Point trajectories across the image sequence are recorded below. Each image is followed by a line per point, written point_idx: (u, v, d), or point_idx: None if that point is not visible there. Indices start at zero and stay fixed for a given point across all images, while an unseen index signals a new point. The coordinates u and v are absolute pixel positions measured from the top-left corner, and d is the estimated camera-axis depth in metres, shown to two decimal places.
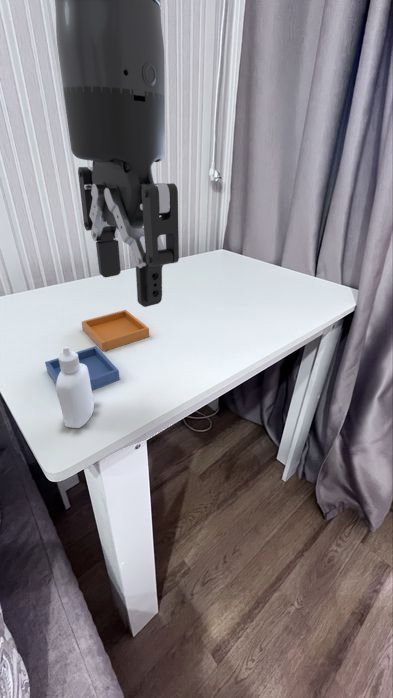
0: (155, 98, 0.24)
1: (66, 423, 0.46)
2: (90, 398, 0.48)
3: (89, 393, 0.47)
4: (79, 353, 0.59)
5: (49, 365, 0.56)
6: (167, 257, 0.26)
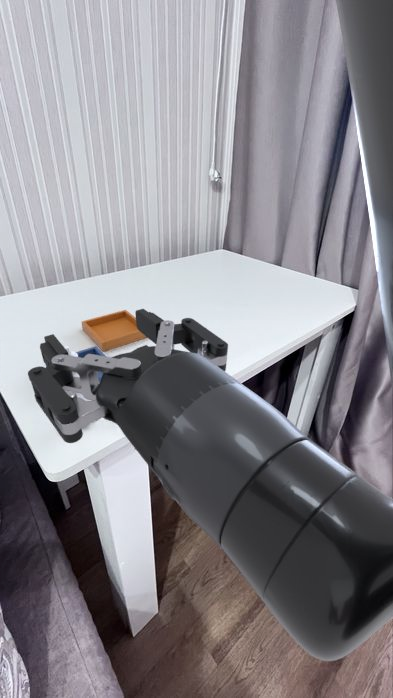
0: None
1: None
2: None
3: None
4: (79, 353, 0.59)
5: None
6: (34, 389, 0.23)
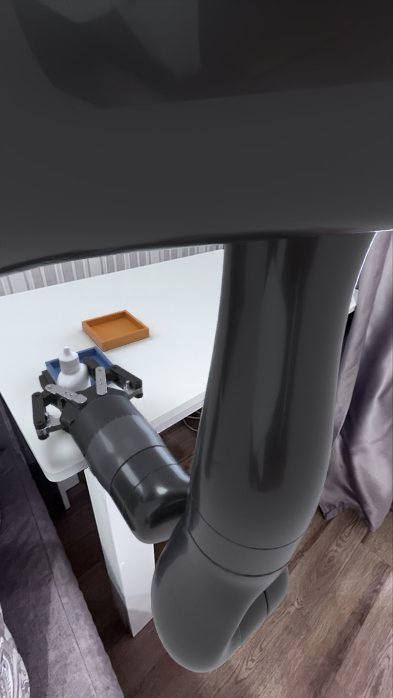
0: None
1: None
2: None
3: None
4: (79, 353, 0.59)
5: (49, 365, 0.56)
6: None
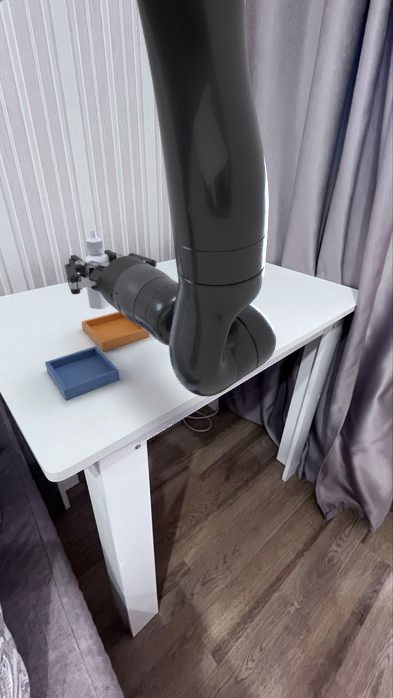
0: (115, 307, 0.43)
1: (91, 303, 0.54)
2: None
3: None
4: (79, 353, 0.59)
5: (49, 365, 0.56)
6: (67, 274, 0.48)
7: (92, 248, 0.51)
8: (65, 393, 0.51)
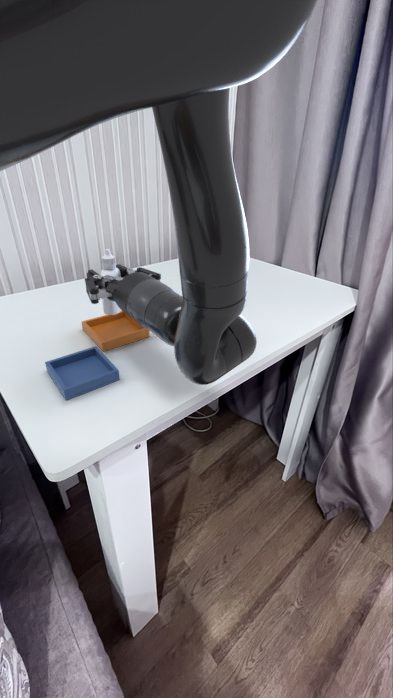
0: (128, 314, 0.52)
1: (105, 310, 0.63)
2: None
3: None
4: (79, 353, 0.59)
5: (49, 365, 0.56)
6: (86, 286, 0.58)
7: (107, 264, 0.60)
8: (65, 393, 0.51)
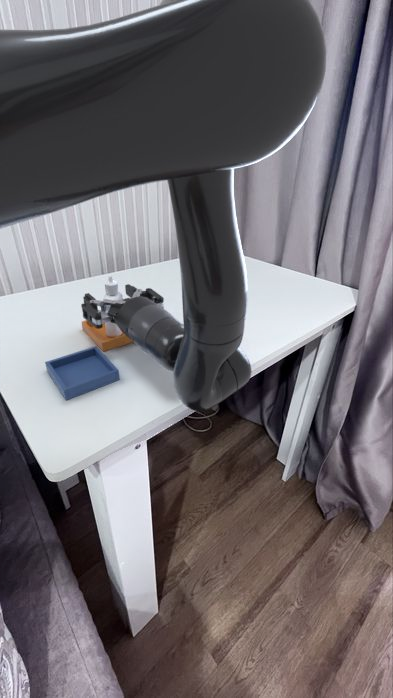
0: (129, 338, 0.55)
1: (108, 333, 0.66)
2: None
3: None
4: (79, 353, 0.59)
5: (49, 365, 0.56)
6: (83, 312, 0.59)
7: (110, 290, 0.63)
8: (65, 393, 0.51)
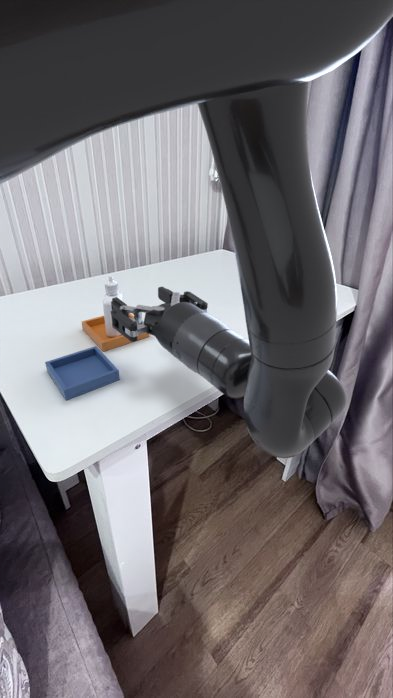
0: (173, 353, 0.44)
1: (108, 333, 0.66)
2: None
3: None
4: (79, 353, 0.59)
5: (49, 365, 0.56)
6: (112, 320, 0.48)
7: (110, 290, 0.63)
8: (65, 393, 0.51)
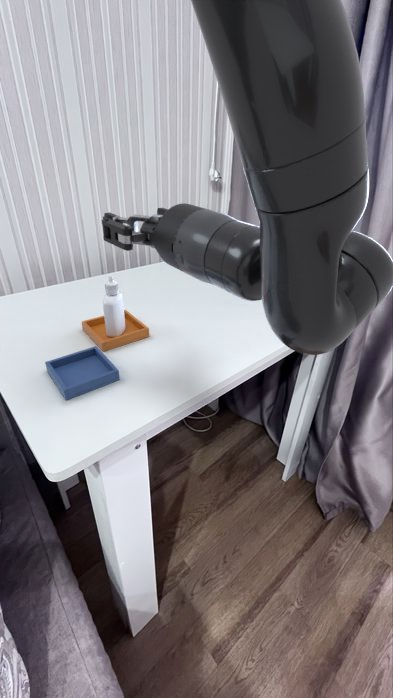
0: (174, 260, 0.37)
1: (108, 333, 0.66)
2: (124, 317, 0.68)
3: (123, 313, 0.67)
4: (79, 353, 0.59)
5: (49, 365, 0.56)
6: (104, 231, 0.41)
7: (110, 290, 0.63)
8: (65, 393, 0.51)
